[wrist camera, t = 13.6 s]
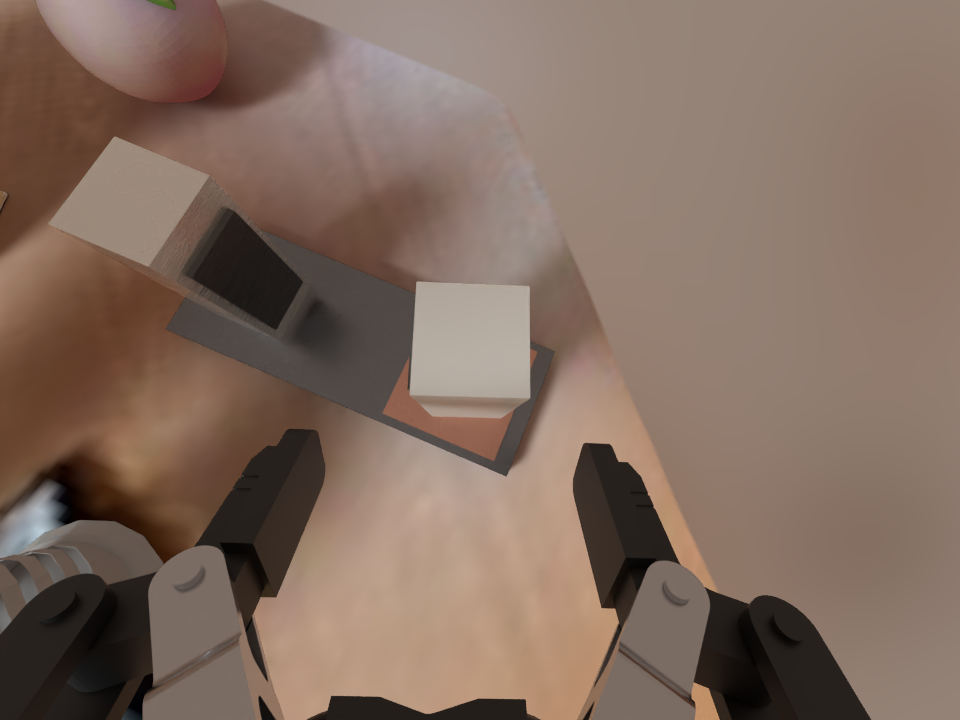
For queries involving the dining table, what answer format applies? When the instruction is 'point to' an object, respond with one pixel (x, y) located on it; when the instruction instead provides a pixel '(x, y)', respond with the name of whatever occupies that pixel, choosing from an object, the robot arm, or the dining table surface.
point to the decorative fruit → (144, 44)
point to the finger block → (470, 349)
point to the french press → (73, 561)
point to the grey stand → (273, 298)
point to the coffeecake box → (2, 198)
